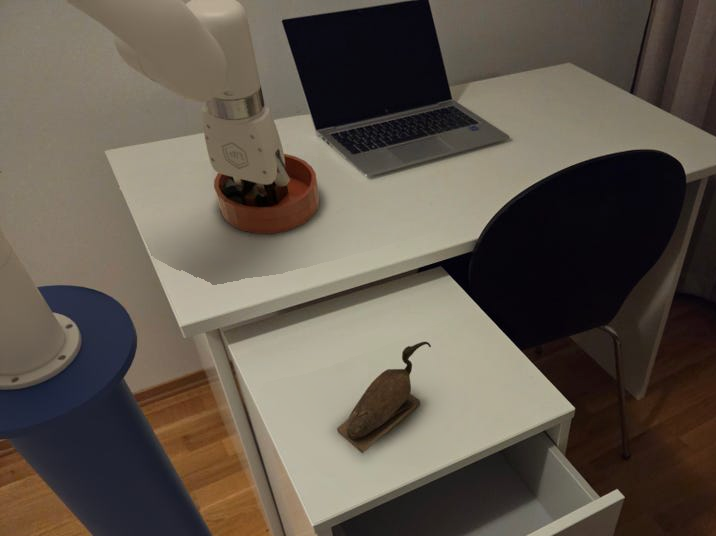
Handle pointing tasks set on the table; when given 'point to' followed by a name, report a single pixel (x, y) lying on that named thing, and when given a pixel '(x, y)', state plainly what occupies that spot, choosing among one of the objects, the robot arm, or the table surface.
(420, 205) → the table surface
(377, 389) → the figurine
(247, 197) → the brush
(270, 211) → the bowl
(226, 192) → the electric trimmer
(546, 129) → the table surface
